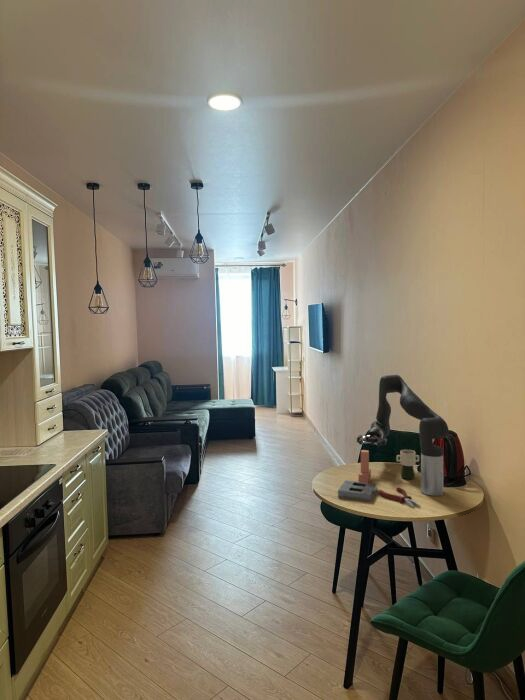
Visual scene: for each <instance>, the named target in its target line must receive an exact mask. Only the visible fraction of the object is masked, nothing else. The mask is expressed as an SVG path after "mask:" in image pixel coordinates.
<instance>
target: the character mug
mask: <svg viewBox="0 0 525 700" xmlns="http://www.w3.org/2000/svg"><path fill="white" fill-rule="evenodd" d="M396 462H397V463H400V464H401V465H402V466H401V475H400V476H401V478H404V479H410V480H411V479H414V478H415V469H414V466H415V465H416V463H419V462H420V454H419V455H418V454H417V453H416V451H415V450H412V449H401V450H400V454H397V455H396Z"/></svg>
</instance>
